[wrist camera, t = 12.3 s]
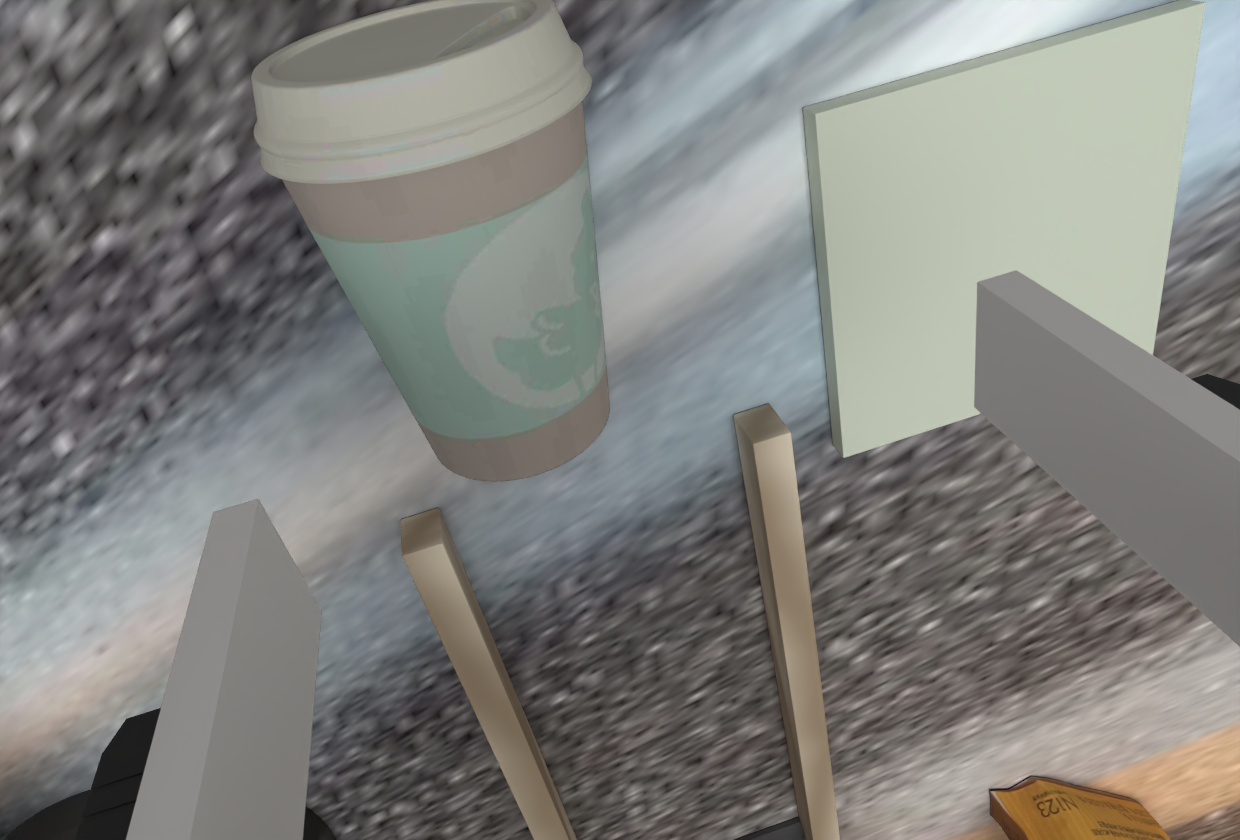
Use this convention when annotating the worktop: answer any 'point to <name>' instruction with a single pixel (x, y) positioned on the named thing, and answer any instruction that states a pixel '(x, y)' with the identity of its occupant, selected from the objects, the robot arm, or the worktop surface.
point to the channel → (787, 622)
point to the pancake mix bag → (1070, 813)
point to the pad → (992, 207)
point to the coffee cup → (455, 216)
